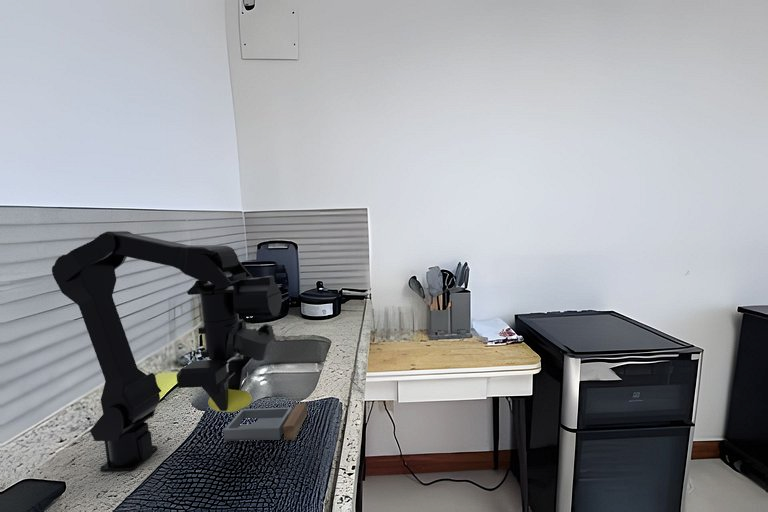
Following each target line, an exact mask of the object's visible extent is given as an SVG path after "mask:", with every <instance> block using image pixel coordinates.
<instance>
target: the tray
mask: <svg viewBox="0 0 768 512" xmlns="http://www.w3.org/2000/svg"><path fill="white" fill-rule="evenodd" d="M293 410H294V409H293V407H292V406H291V407H269V408H268V407H267V408H266V407H265V408H262V407H261V408H242V409H240V410H239V412H238V413H237V414H236V415H235V416H234V418H233V419H232V420H231V421H230V422H229V423H228V424H226V426H225V427H224V428H223V440H224V441H236V440H280V439H281V440H282V438H283V436H284V435H283V434H284V430H283V426H284V424H285V423H286V421H287V419H288V418H289V416H290V415H291V413H292V411H293ZM244 418H259V419H258V420H257V421H256V422H251V424H248V425H247V424H242V425H240V423H241V422H242V420H243V419H244ZM239 425H240V426H239ZM282 435H283V436H282ZM281 437H282V438H281ZM281 440H280V441H281Z"/></svg>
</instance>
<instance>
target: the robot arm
mask: <svg viewBox="0 0 768 512" xmlns="http://www.w3.org/2000/svg"><path fill="white" fill-rule="evenodd" d="M127 258H131V259H136V260H140V261H144V262H149V263H154V264H159V265H164V266H167V267H172V268H175V269H177V270H179V271H180V272H182V273H183V274H184V275H185V276H188V277H190V278H193V279H195V283H194V284H193V285H192V286H191V287H190V288H189V289H188V290H187V293H186V294H187V295H189V296H193V295H195V296H196V295H197V296H198V295H199V299H200V306H201V314H202V323H203V324H202V326H200V327H198V328H197V330H198V331H197V332H198V335H204V343H205V349H204V350H202V351H201V352H200V356H201V360H193V361H191V362H189V364H187V365H185V366H184V367H182V368H181V369H180V370H178V372H177V373H176V375H175V376H176V382H177V387H178V389H182V388H183V389H185V388H202V389H203V390H204V391H205V393H207V395H208V396H209V398H210V397H211V399H212V400H213V401H214V403H215V404H216V405H217V407H218V408H219V409H220V411H219V412H221V411H226V410H227V409H228V389H232V390H240V391H242V386H243V381H244V375H245V372H246V367H247V366H248V364H249V363H250V362H251V361H252V360H254V361H257V362H258V361H259V362H261V361H264V360H265V359H266V357H268V356H269V355H270V354H271V351H272V350H273V349H272V348H273V344H274V343H275V342H277V341H276V340H277V339H276V334H275V333H274V329H273V325H271V324H268V323H264V324H263V325H261V326H260V327H259V328H258V329H257V328H253V329H251V328H248V327H247V323H246V321H245V319H243V318H250V317H251V318H253V317H271V316H273V317H275V316H278V315H279V313H280V311H281V308H282V304H283V303H282V301H283V296H282V292H281V290H280V288H279V285H278V284H277V283H276V281H275V276H274V275H266V276H262V277H253V274H251V273H250V272H249V271H248V269H246V267H245V266H244V265H243V264H242V262H241V261H240V260H239V258H238V254H237V253H236V251H235V249H234V248H232V247H231V246H228V245H222V244H221V245H220V244H219V245H217V244H215V245H214V244H211V245H206V244H203V245H201V244H200V245H199V244H198V245H192V244H191V245H190V244H189V245H188V244H183V243H178V242H175V241H169V240H164V239H160V238H155V237H150V236H145V235H139V234H136V233H133V232H131V231H127V230H125V231H123V230H119V231H116V230H114V231H111V230H110V231H105V232H103V233H100V234H99V235H97V236H96V238H94V239H92V240H91V241H89V242H87V243H84V244H83V245H80V246H78V247H76V248H74V249H72V250H70V251H69V252H67V253H66V254H62V255H60V256H59V257H57V258H56V260H55V263H54V265H52V267H51V273H52V276H53V278H54V281H55V283H56V285H57V286H58V288H59V290H60V291H61V293H62V294H63V295H64V296H65V297H67V298H68V299H69V300H71V301H73V302H74V303H75V304H76V305H78V308H79V312H80V313H81V314H80V315H81V316H82V319H83V322H84V325H85V328H86V331H87V334H88V336H89V339H90V341H91V344H92V347H93V350H94V353H95V356H96V358H97V360H98V364H99V367H100V370H101V373H102V375H103V378H104V385H103V388H102V393H101V397H100V404H101V408H102V409H101V410H102V415H101V416H100V417H99V419H98V420H97V421H96V423H94V425H93V426H92V427H91V428H90V430H89V432H90V434H91V436H92V438H93V441H95V442H104V447H105V455H106V462H105V463H104V464H103V465H102V466H100V467H99V470H100V471H101V472H102V471H103V472H107V471H108V472H111V471H112V472H113V471H114V472H115V471H133V470H136V469H137V467H139V466H140V465H141V464H142V463H144V461H145V460H146V459H148V458H149V457H150V456H151V455H152V454H153V453H154V452H156V451H157V450H158V445H153V441H152V440H153V439H152V434H151V433H152V431H150V430H149V423H148V422H146V421H148V420H149V419H151V418H153V417H154V416H155V413H156V408H157V407H158V405H159V403H160V401H161V396H160V393H161V392H162V390H161V387H159V385H158V383H157V378H156V374H155V373H154V372H150V373H149V374H146V373H145V372H144V371H142V370H141V369H140V368H138V366H137V363H136V359H135V357H134V354H133V352H132V349H131V345H130V343H129V341H128V338H127V335H126V332H125V329H124V326H123V324H122V321H121V317H120V315H119V312H118V309H117V306H116V303H115V301H114V298H113V295H114V290H115V287H116V283H117V275H116V269H118V268H119V267H120V266H122V265H123V264H124V263H125V262H126V259H127ZM239 316H241V317H243V318H242V319H240V317H239ZM203 358H206V359H205V360H202V359H203ZM207 358H208V359H207Z"/></svg>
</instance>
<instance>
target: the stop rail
mask: <svg viewBox="0 0 768 512" xmlns="http://www.w3.org/2000/svg"><path fill="white" fill-rule="evenodd" d="M307 406H308V405H307V403H306V402H305V403H301V402H300V403H296V405H295V406H294V409H292V410H293V411H292V413H291V415H290V416H289V418H288V419H287V421H286V423H285V424H284V426H283V430H284V435H283V439H284V441H285V440H295V441H296V439H297V438H296V436H297V434H298V432H299V431H300V432H301V430H300V428H301V427H302V428H303V426H302V424H303V422H304V420H305V418H306V416H307V415H308V407H307ZM304 423H305V422H304ZM303 425H304V424H303ZM302 428H301V429H302ZM300 432H299V433H300ZM298 435H299V434H298ZM297 437H298V436H297ZM295 438H296V439H295Z"/></svg>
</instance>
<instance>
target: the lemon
mask: <svg viewBox="0 0 768 512" xmlns="http://www.w3.org/2000/svg"><path fill="white" fill-rule="evenodd" d="M252 401H253V397H252V394H251V393H250V392H249V391H248V390H241V391H240V390H232V389H228V409H227V410H226V411H220V409H219V408H218V407H217V405H216V404H215V403H214V401H213V400H212V399H211V397H210V396H209V399H208V401H207V402H208V404H207V405H208V407H209V408H210V409H211V410H213V411H216V412H223V413H235V412H238V411H241V410H242V409H246V407H248V406H249V405H251V403H252Z"/></svg>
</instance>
